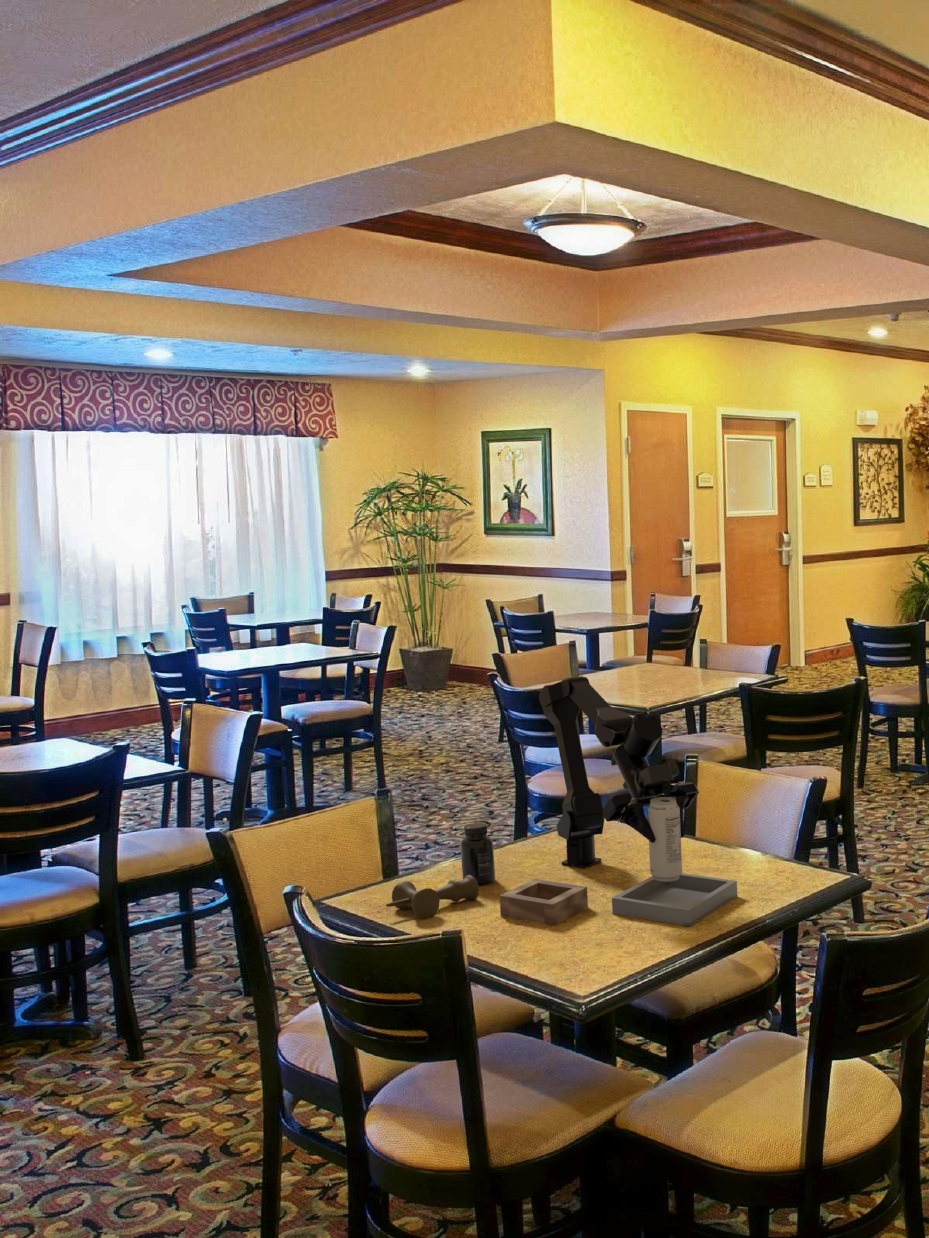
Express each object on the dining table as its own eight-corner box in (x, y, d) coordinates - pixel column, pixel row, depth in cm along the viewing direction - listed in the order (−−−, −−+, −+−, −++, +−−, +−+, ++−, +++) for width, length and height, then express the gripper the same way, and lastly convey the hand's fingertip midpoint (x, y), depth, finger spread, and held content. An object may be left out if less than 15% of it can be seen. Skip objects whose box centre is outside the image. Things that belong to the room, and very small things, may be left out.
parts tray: (663, 884, 249) (662, 870, 249) (737, 896, 240) (736, 880, 239) (612, 913, 234) (611, 897, 233) (689, 926, 224) (688, 910, 224)
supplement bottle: (496, 876, 262) (493, 820, 261) (494, 886, 255) (491, 828, 254) (464, 877, 263) (461, 821, 262) (461, 887, 256) (457, 829, 255)
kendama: (487, 906, 244) (399, 926, 233) (461, 897, 252) (374, 915, 241) (486, 876, 244) (397, 894, 233) (460, 867, 252) (373, 885, 241)
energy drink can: (663, 871, 240) (660, 794, 239) (688, 876, 236) (685, 799, 234) (643, 878, 236) (640, 800, 235) (669, 884, 232) (665, 805, 230)
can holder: (536, 898, 245) (535, 878, 245) (588, 907, 238) (587, 886, 238) (500, 915, 236) (499, 895, 235) (553, 925, 229) (552, 904, 228)
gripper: (607, 753, 234) (640, 823, 225) (692, 740, 241) (726, 808, 232) (589, 786, 242) (619, 855, 233) (671, 773, 249) (704, 840, 240)
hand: (668, 839), depth 234 cm, fingers closed on energy drink can, 6 cm apart
